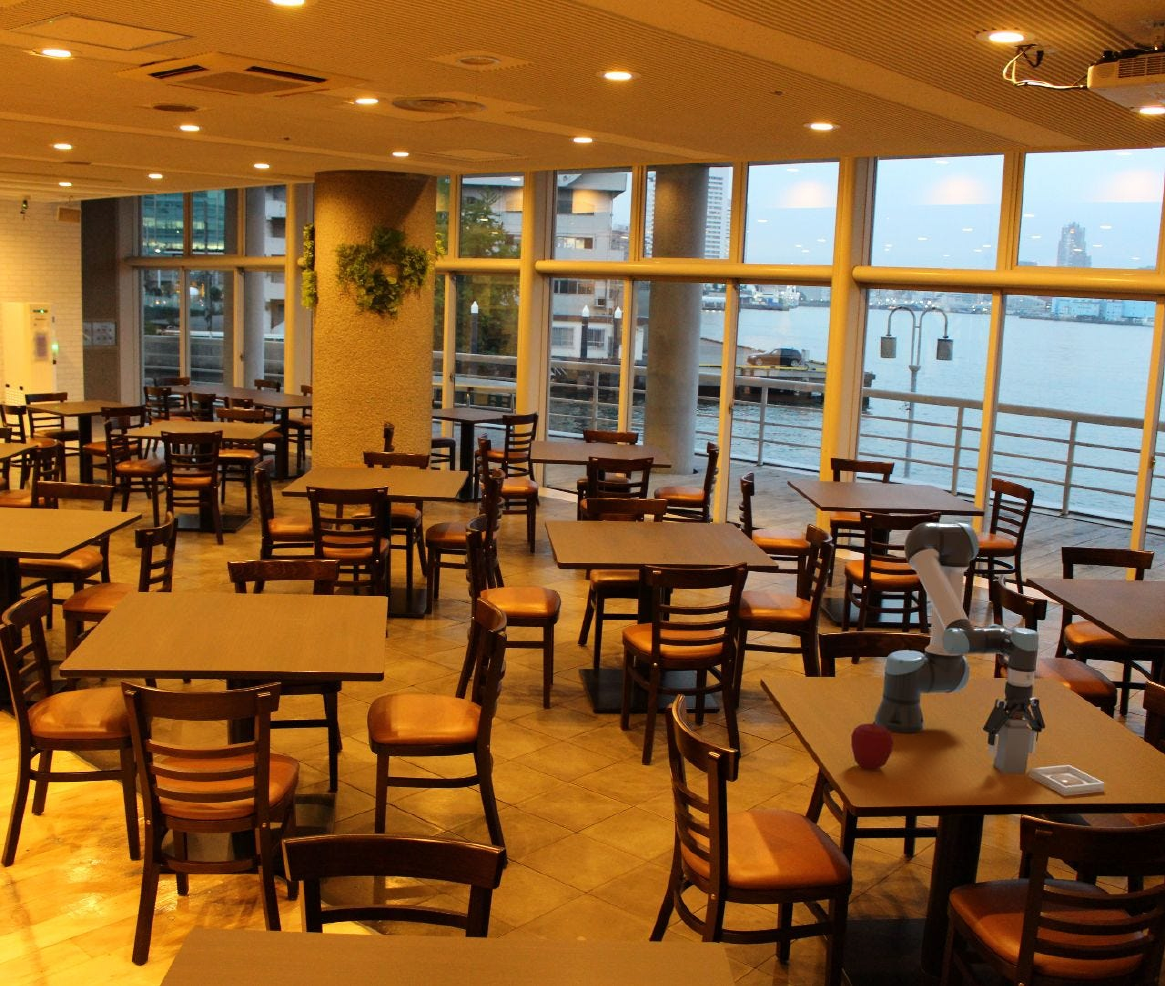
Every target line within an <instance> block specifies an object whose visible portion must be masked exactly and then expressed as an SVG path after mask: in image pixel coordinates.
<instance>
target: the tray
mask: <svg viewBox="0 0 1165 986" xmlns="http://www.w3.org/2000/svg"><path fill="white" fill-rule="evenodd" d="M1029 778H1031V779H1032V780H1035V781H1036V782H1038V783H1041V784H1042V785H1043V786H1046V787H1048V788H1049V789H1051V790H1054V791H1055V792H1057V793H1058V794H1061V795H1063V796H1074V795H1081V794H1083V795H1084V794H1091V793H1093V794H1094V793H1101V792H1105V787H1106V783H1105V782H1103V781H1102V780H1099V779H1098V778H1096V777H1093V776H1092V775H1090V774H1088V773H1086V772H1084V771H1082V770H1079V769H1078V768H1076V767H1074V766H1073V765H1070V764H1063V765H1054V766H1053V765H1051V766H1042V767H1033V768H1030V769H1029Z"/></svg>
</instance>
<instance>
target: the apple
mask: <svg viewBox="0 0 1165 986" xmlns="http://www.w3.org/2000/svg"><path fill="white" fill-rule="evenodd" d="M892 735H893V734H892V732H891V731H889V730H887V729H886V728H885V727H883V726H881V725H877V724H875V723H874V722H873V723H861V724H859V725H858V726H856V727H855V728H854V729H853V731H852V733H851V735H850V736H851V740H850V741H851V745H850V746H851V749H852V754H853V759H854V762H855V763H856V764H857V765H858V766H859V767H860V768H861V769H862V770H865V771H875V770H878V769H880V768H882V767H883V766H885V765H886V764H887V762H888V760H889V758H890V756H891V755H892V753H893V752H892V751H893V747H894V739H893V736H892Z"/></svg>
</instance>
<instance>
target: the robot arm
mask: <svg viewBox="0 0 1165 986" xmlns="http://www.w3.org/2000/svg"><path fill="white" fill-rule="evenodd" d="M906 535H907V536H906V538H905V541H904V557H905V559H906V561H907V565H908V566H909V567H910V569H912V570H914V571H915V573H916V574H917V577H918V578H919V580H920V581H919V582H920V583H921V584H922V586H923V589H924V591H925V593H926V595H927V597H928V598H929V601H930V603H931V605H932V617H931V631H930V642H929V645H928V646H926V647H924V652H923V653H922V652H920V651H917V650H909V649H906V650H905V649H904V650H903V649H902V650H897V651H893V652H891V653H889V654H888V656H887V657H886V661H885V665H884V676H883V678H884V679H883V685H882V686H883V689H882V698H881V701H880V703H879V705H878V708H877V710H876V712H875V714H874V720H873V721H874V722H873V723H874V724H877V725H881V726H883V727H885V728H886V729H887V730H888V731H889V732H895V733H902V734H914V733H919V732H922V731H923V730H924V727H925V721H924V716H923V712H922V708H921V699H922V698H921V697H922V694H938V693H939V694H940V693H941V694H942V693H944V694H950V693H957V692H960V691H961V690H963V689H964V688H965V687H966V685H967V684H968V682H969V679H970V673H971V671H970V666H969V662H968V659H967V658H966V657H965V656H964V655H988V654H989V655H993V654H995V655H996V654H999V655H1001V656H1003V657H1006V658H1008V659H1007V661H1008V662H1007V668H1006V676H1005V680H1006V681H1005V685H1004V686H1005V687H1004V694H1005V698H1004V700H1001V699H1000V698H996V699H995V702H994V706H993V708H992V710H991V712H990V713H989V716H988V718H987V720H986V722H985V723H984V725H983V727H982V731H984V732H986V733H988V735H987V737H988V738H987V744H988V751H987V755H989V756H991V757H993V758H994V757H996V756H997V747H998V738H999V735H997V733H998V731H999V730H1000V729H1001V728H1002V726H1003V725H1004V724H1005V723H1006V721H1007V720H1008V719H1009V718H1011V717H1012V716H1013V714H1014V713H1015V712H1016V711H1024V715H1023V717H1024V718H1026V719H1027V720H1028V723H1027V725H1028V726H1029V728H1030V729H1031V734H1030V743H1029V751H1028V753H1030V754H1035V752H1036V742H1038V739H1039V733H1042V731H1043V730H1044V729H1045V728H1046V724H1045V720H1044V718H1043V714H1042V711H1041V707H1040V699H1039V698H1037V697H1034V696H1033V690H1034V686H1033V684H1034V683H1035V675H1036V667H1037V659H1038V652H1039V651H1038V650H1039V642H1040V641H1039V639H1040V635H1039V633H1038V632H1037V631H1036V630H1034V629H1030V628H1026V627H1016V628H1013V629H1012V630H1011V629H1009V628H1007V627H1005V626H1003V625H999V624H997V623H994V624H993V623H992V624H989V625H987V626H986V627H973V626H972V623H971V622H970V620H969V617H968V616H967V614H966V612H965V610H964V607H963V606H962V604H963V603H962V601H963V600H962V599H963V589H964V575H965V571H967V570H968V569H969V568H970V564H971V563H970V561H972V560H974V559H975V558H977V555H978V554H979V550H980V543H979V537H978V534H977V533H976V531H975V529H974V528H973V527H972V526H971V525H970V524H967V523H964V522H963V523H961V522H956V521H955V522H921V523H919V524H917V525H915V526H914V527H912V529H911V530H910V531H909V532H908V533H907V534H906ZM1029 707H1030V708H1029ZM1030 709H1031V710H1030ZM1031 711H1032V712H1031Z"/></svg>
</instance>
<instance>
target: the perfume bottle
mask: <svg viewBox="0 0 1165 986" xmlns="http://www.w3.org/2000/svg"><path fill="white" fill-rule="evenodd" d="M1023 715H1024V711H1016V712H1015V713H1014V714H1013V716H1012V717H1011V718H1009V719H1008V720H1007V721H1006V723H1005V724H1004V725H1003V726H1002V728H1001V729H1000V730H999V731H998V733H997V735H999V738H998V747H997V756H996V757H993V766H994V767H995V768H996V769H997V770H998V771H1000V772H1001V774H1008V775H1026V773H1027V766H1028V759H1029V758H1028V757H1029V752H1028V751H1029V743H1030V734H1031V729H1032V728H1031V727H1030V726H1029V725H1028V720H1027V719H1026V718H1025V717H1024V716H1023Z"/></svg>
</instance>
